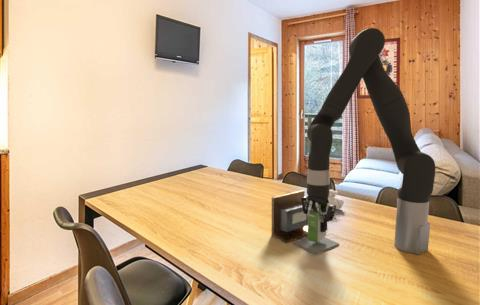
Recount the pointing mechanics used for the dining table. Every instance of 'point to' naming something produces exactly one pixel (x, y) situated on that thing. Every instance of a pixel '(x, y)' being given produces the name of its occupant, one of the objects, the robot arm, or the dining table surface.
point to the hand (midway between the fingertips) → (317, 228)
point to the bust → (335, 199)
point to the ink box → (315, 226)
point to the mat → (316, 245)
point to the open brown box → (289, 217)
